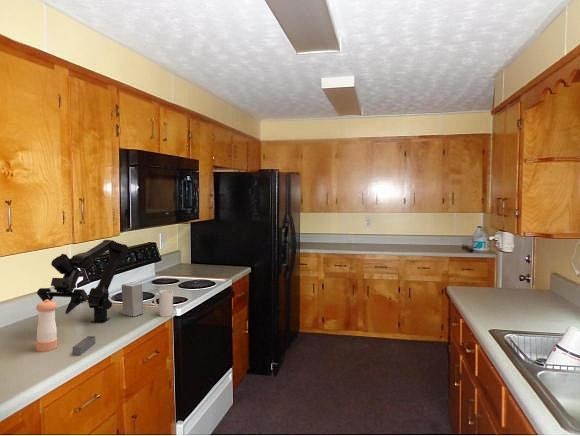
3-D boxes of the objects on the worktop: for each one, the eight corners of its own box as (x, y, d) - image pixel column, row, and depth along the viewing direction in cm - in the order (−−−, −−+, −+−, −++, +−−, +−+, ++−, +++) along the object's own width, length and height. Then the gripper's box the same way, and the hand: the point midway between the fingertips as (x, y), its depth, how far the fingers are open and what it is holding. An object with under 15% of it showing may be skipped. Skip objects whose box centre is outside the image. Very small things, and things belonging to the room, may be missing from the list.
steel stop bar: (87, 343, 164) (88, 336, 164) (95, 343, 164) (95, 336, 164) (72, 355, 152) (72, 347, 152) (80, 355, 152) (80, 347, 152)
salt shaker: (36, 353, 153) (36, 303, 152) (35, 347, 159) (35, 298, 158) (58, 349, 157) (58, 300, 156) (56, 343, 163) (56, 296, 162)
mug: (175, 313, 207) (175, 290, 207) (168, 317, 201) (169, 293, 200) (157, 312, 210) (157, 289, 209) (150, 315, 203) (150, 292, 202)
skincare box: (143, 314, 205) (144, 283, 204) (131, 317, 199) (132, 285, 198) (132, 311, 209) (133, 281, 208) (120, 314, 203) (121, 283, 202)
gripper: (39, 268, 167) (22, 302, 156) (85, 270, 167) (70, 303, 157) (50, 283, 175) (34, 316, 165) (93, 285, 175) (80, 317, 165)
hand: (54, 313), depth 163 cm, fingers open, 9 cm apart
